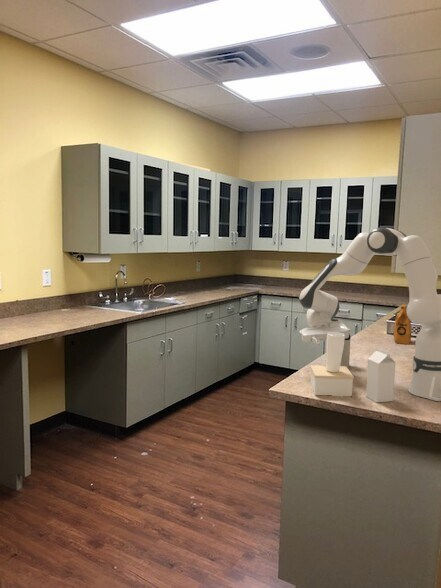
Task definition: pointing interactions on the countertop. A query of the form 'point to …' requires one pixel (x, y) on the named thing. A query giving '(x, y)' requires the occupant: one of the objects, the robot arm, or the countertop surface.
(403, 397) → the countertop surface
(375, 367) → the milk carton
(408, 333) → the coffee package
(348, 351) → the travel mug
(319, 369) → the painted box
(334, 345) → the white ceramic cup
